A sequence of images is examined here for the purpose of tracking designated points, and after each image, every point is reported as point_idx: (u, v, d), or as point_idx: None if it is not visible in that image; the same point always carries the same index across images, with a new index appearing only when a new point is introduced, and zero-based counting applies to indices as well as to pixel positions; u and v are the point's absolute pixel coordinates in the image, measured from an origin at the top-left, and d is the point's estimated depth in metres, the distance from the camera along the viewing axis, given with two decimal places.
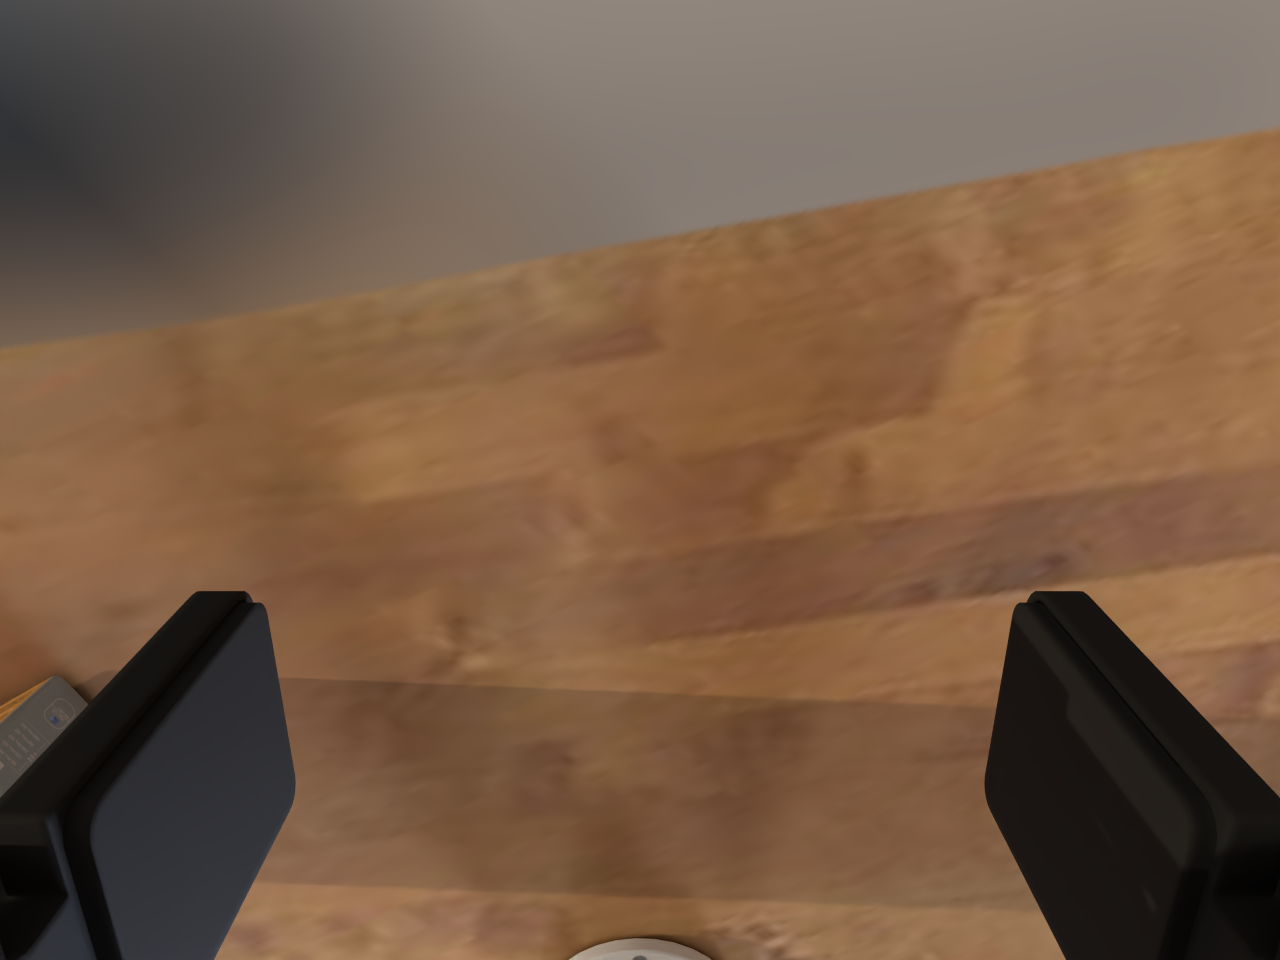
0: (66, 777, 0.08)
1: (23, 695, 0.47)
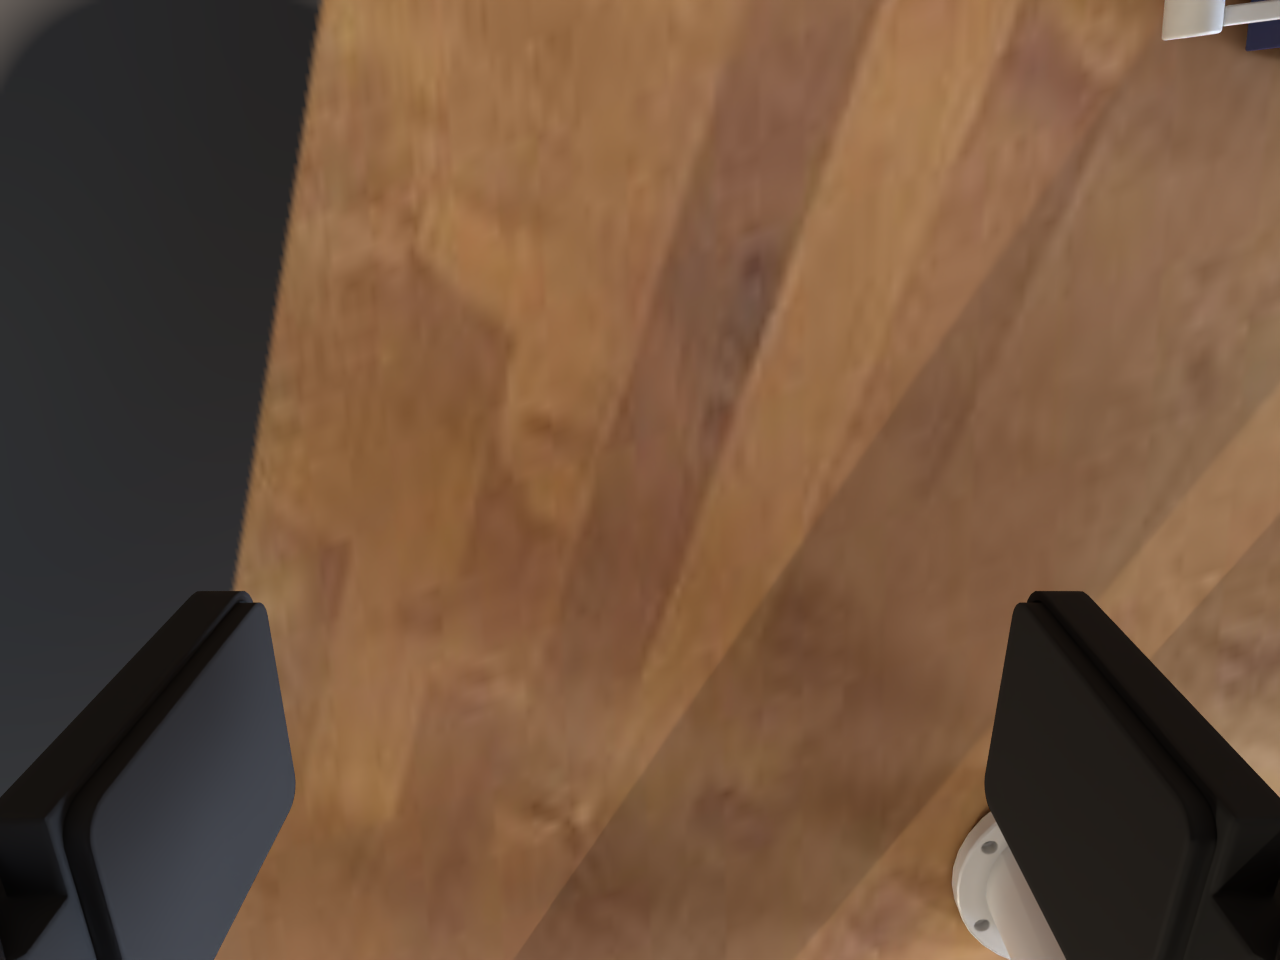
0: (66, 777, 0.08)
1: None
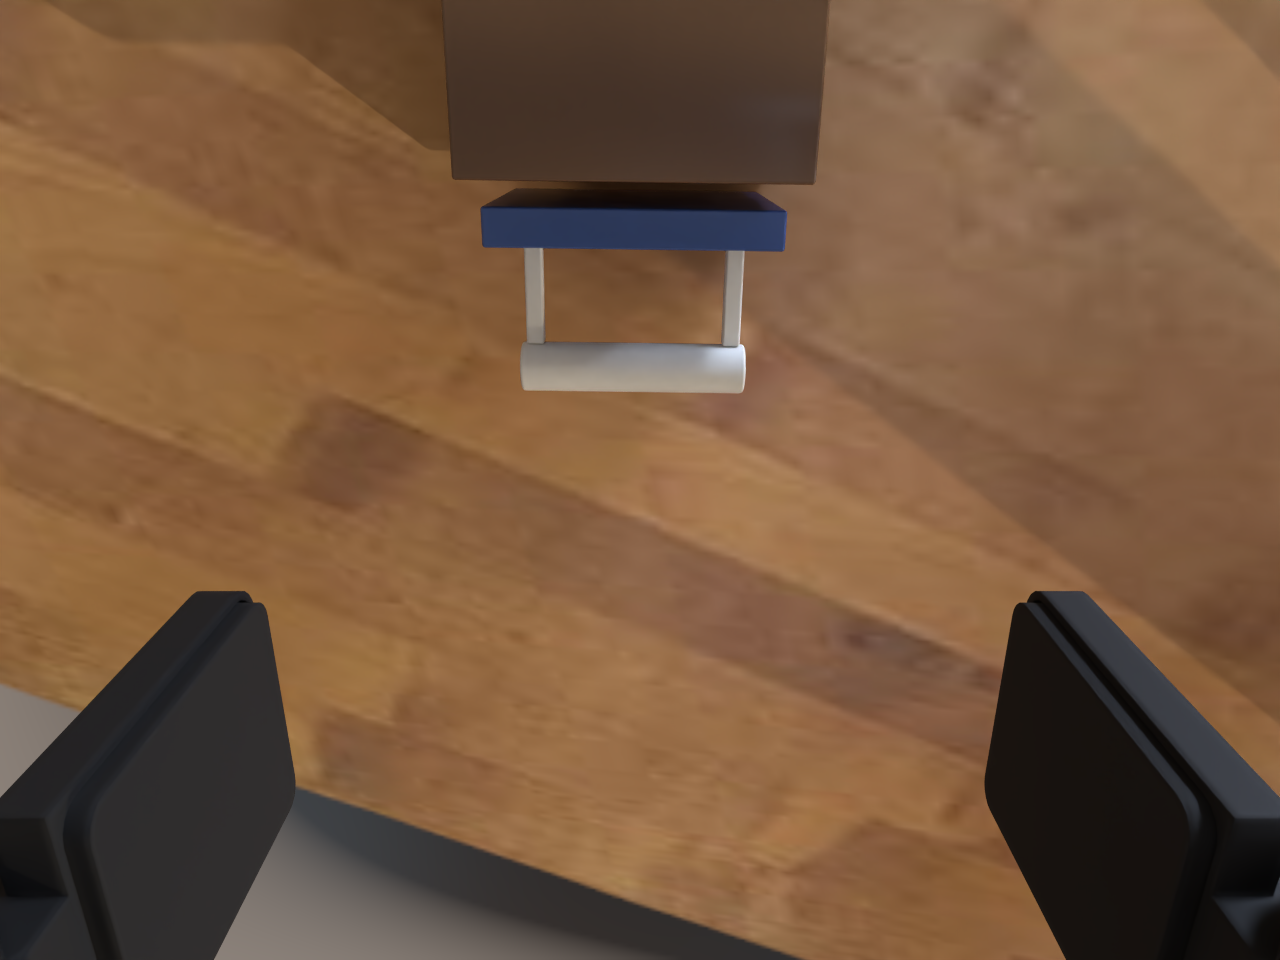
0: (66, 777, 0.08)
1: None
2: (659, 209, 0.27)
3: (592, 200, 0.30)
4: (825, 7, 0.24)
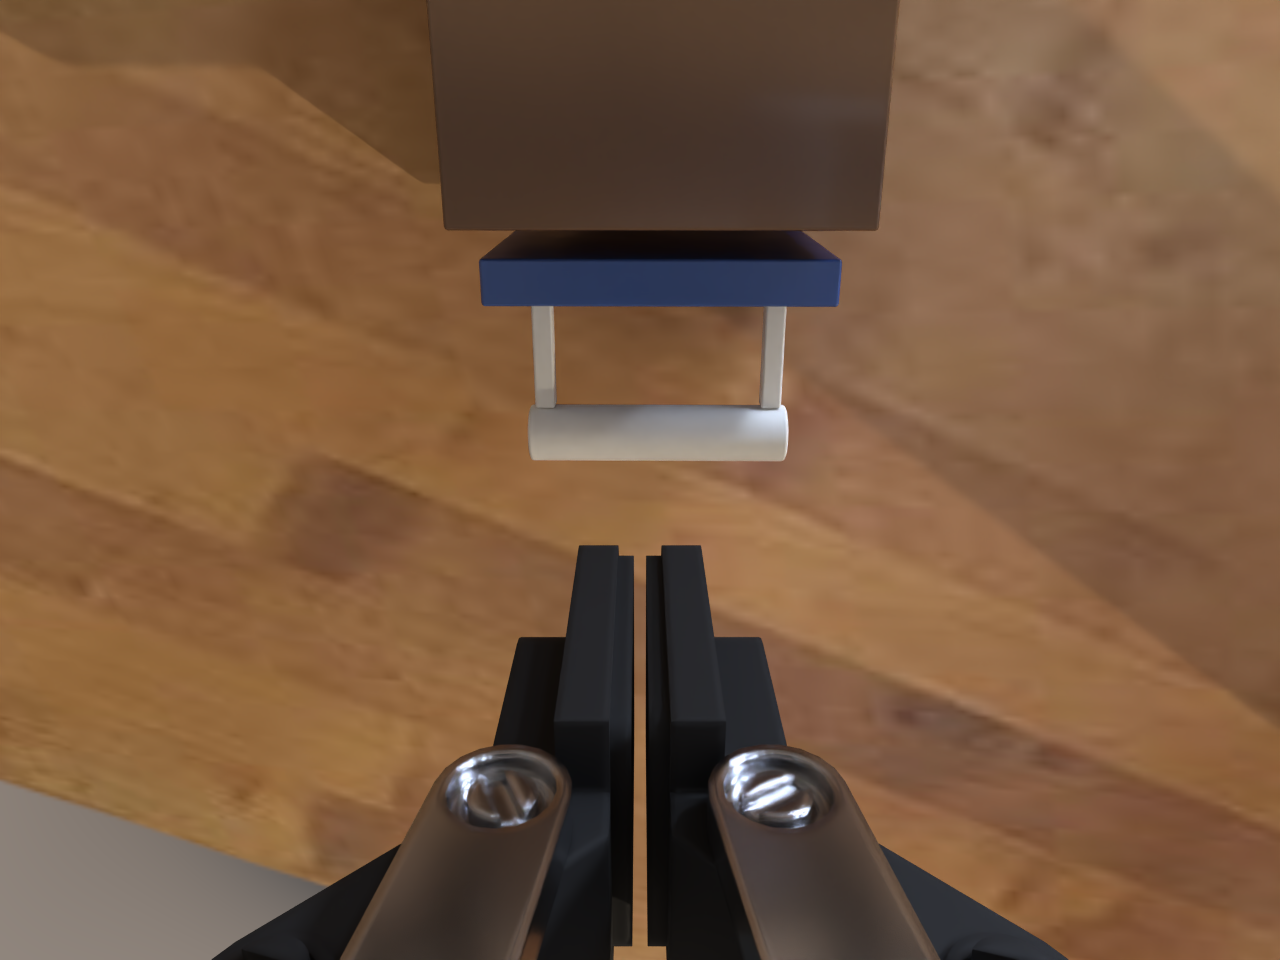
0: (598, 691, 0.09)
1: None
2: (690, 259, 0.23)
3: (610, 245, 0.25)
4: (893, 19, 0.20)
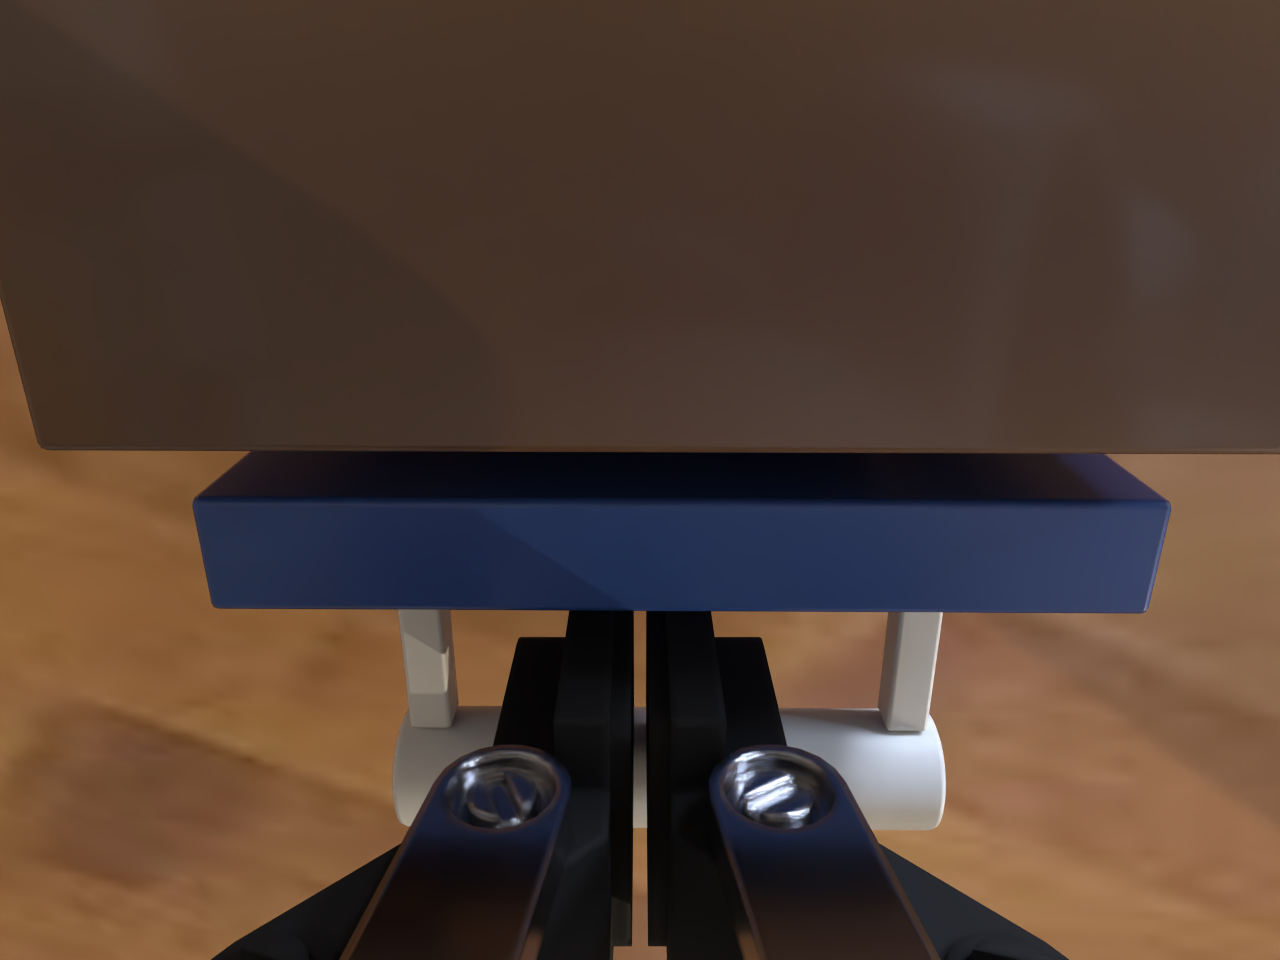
0: (598, 690, 0.09)
1: None
2: (761, 500, 0.08)
3: None
4: None
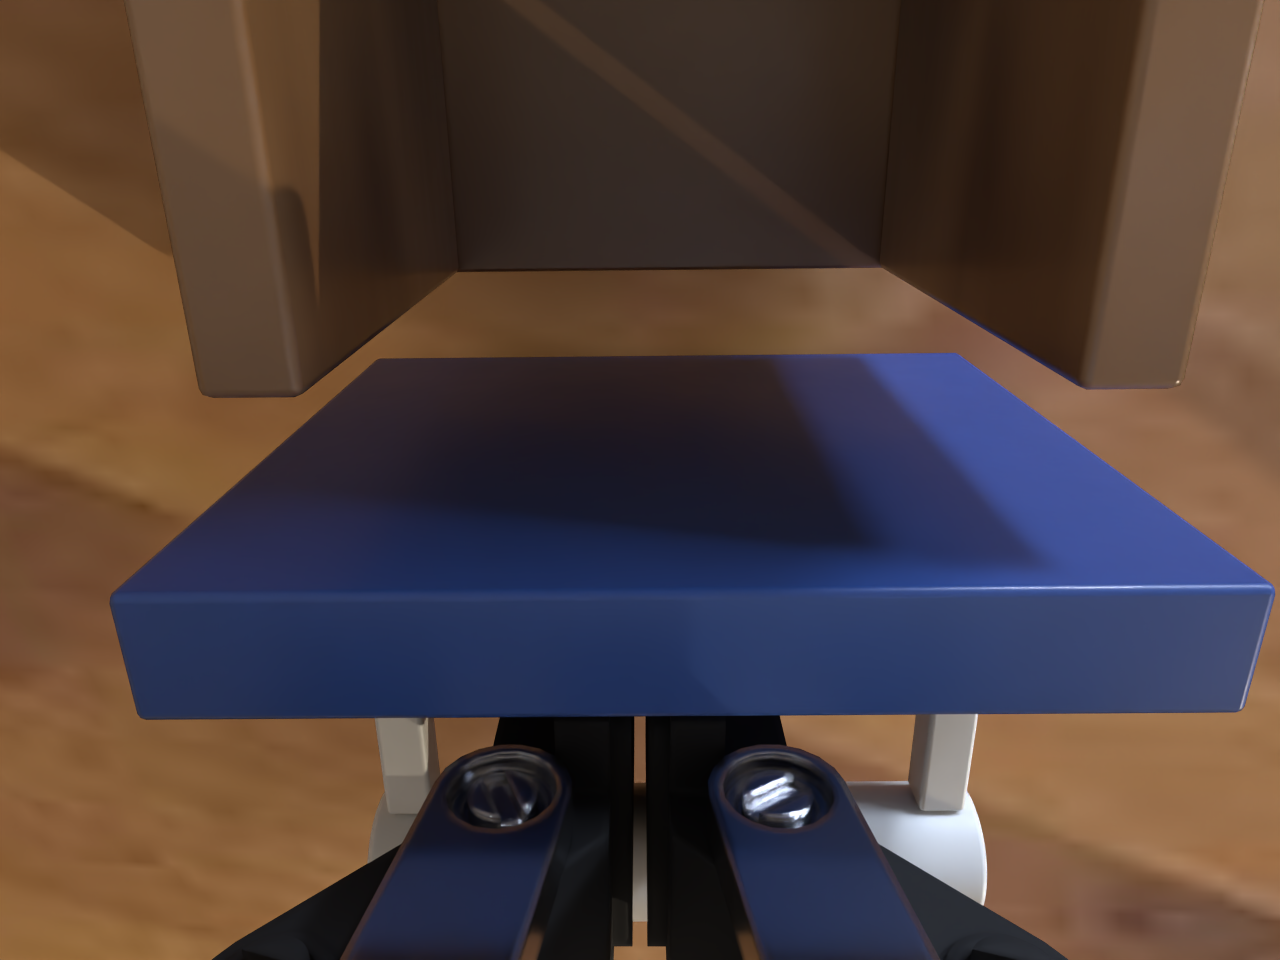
0: None
1: None
2: (787, 589, 0.07)
3: (547, 469, 0.10)
4: None
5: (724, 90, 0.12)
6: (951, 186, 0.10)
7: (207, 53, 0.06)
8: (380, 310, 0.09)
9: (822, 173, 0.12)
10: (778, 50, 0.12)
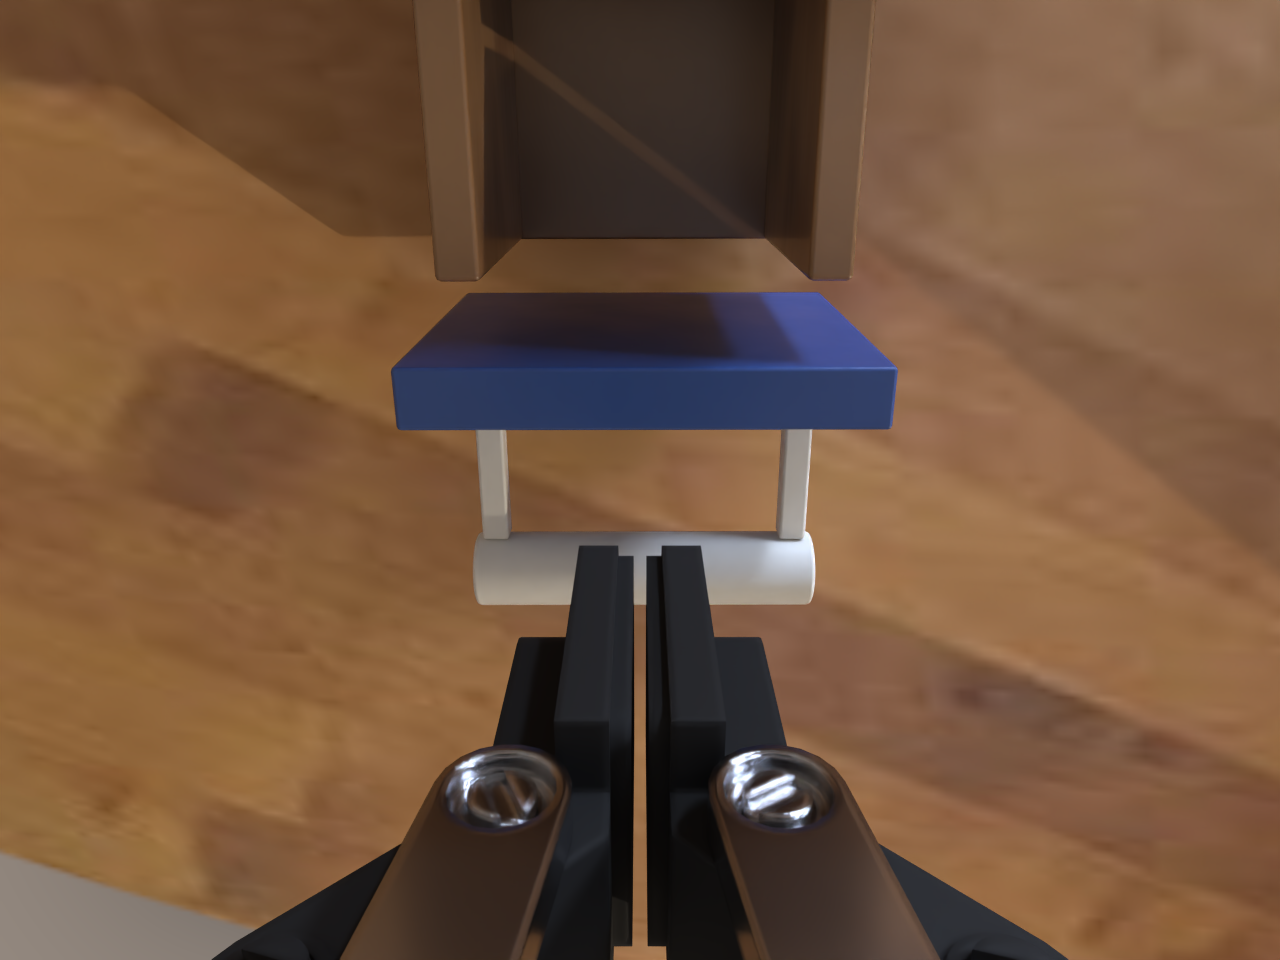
0: (598, 691, 0.09)
1: None
2: (686, 367, 0.16)
3: (577, 334, 0.19)
4: None
5: (674, 137, 0.21)
6: (783, 192, 0.19)
7: (453, 139, 0.15)
8: (498, 251, 0.18)
9: (730, 183, 0.21)
10: (704, 115, 0.21)
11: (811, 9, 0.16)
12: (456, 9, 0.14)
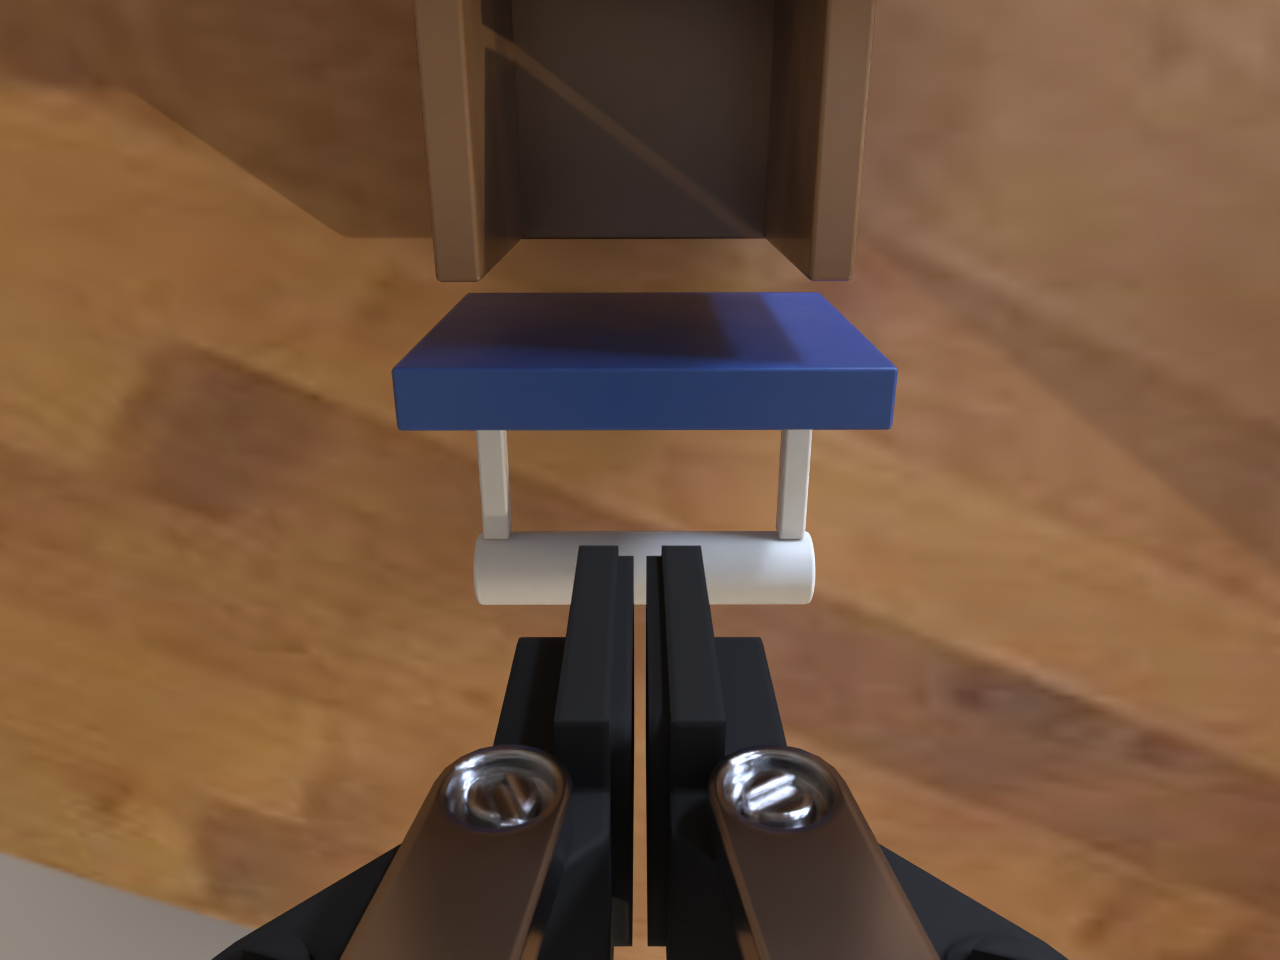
0: (598, 691, 0.09)
1: None
2: (687, 368, 0.16)
3: (578, 335, 0.19)
4: None
5: (674, 137, 0.21)
6: (783, 192, 0.19)
7: (454, 140, 0.15)
8: (498, 251, 0.18)
9: (730, 184, 0.21)
10: (704, 115, 0.21)
11: (811, 10, 0.16)
12: (457, 10, 0.15)
